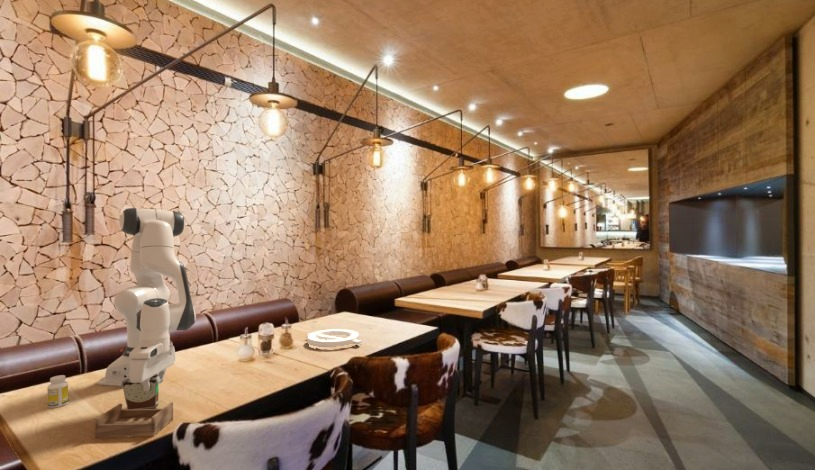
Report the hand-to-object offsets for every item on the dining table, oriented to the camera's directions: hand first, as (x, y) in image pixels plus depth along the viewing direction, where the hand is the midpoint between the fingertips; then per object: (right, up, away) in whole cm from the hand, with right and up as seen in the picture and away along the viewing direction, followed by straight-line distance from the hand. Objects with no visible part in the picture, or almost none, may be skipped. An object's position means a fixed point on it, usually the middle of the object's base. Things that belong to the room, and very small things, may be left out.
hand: (153, 386), depth 135 cm
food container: (-2, -7, 0) cm, 7 cm away
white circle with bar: (+47, -8, +81) cm, 94 cm away
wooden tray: (+5, -7, -16) cm, 18 cm away
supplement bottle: (-34, -7, +1) cm, 35 cm away
